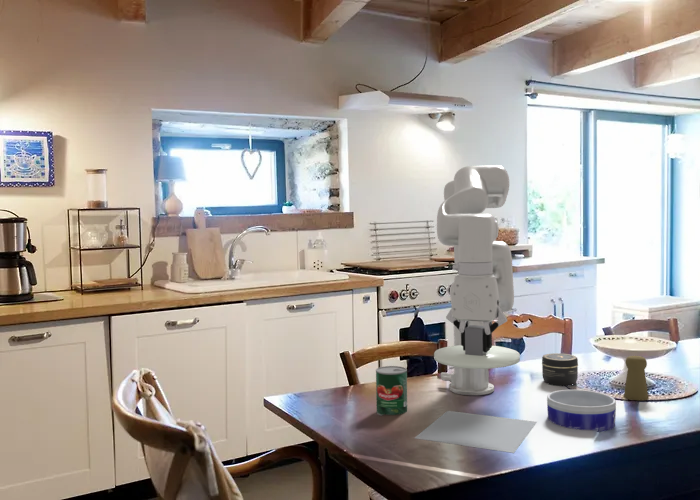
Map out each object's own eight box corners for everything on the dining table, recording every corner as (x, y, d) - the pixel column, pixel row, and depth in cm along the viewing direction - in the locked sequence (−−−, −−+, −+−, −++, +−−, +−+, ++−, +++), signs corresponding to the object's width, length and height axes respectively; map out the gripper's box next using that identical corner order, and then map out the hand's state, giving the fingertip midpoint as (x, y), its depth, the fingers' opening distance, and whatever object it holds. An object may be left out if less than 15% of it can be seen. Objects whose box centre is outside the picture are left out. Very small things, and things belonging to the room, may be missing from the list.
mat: (414, 440, 145) (414, 437, 145) (447, 413, 165) (447, 410, 164) (514, 455, 135) (514, 452, 135) (536, 424, 154) (536, 421, 154)
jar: (558, 376, 198) (558, 351, 198) (585, 383, 190) (585, 357, 189) (534, 381, 193) (534, 355, 193) (561, 388, 185) (561, 361, 184)
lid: (421, 364, 145) (421, 331, 144) (450, 347, 162) (449, 318, 161) (507, 372, 136) (507, 337, 136) (528, 353, 153) (528, 322, 152)
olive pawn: (651, 400, 171) (651, 359, 170) (626, 400, 172) (626, 358, 172) (645, 394, 177) (645, 354, 176) (621, 393, 178) (621, 353, 178)
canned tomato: (380, 418, 162) (379, 374, 161) (373, 409, 169) (372, 366, 169) (411, 415, 163) (410, 372, 162) (403, 406, 171) (402, 365, 170)
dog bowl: (555, 409, 166) (555, 386, 166) (620, 418, 158) (620, 393, 158) (540, 427, 153) (540, 401, 152) (610, 437, 145) (610, 410, 145)
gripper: (434, 270, 148) (435, 350, 149) (508, 272, 140) (509, 356, 142) (445, 267, 155) (446, 344, 156) (516, 269, 147) (517, 349, 148)
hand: (476, 349), depth 149 cm, fingers closed on lid, 4 cm apart
